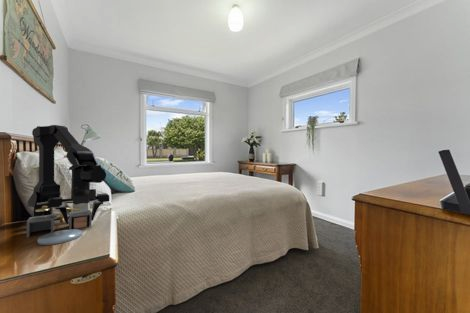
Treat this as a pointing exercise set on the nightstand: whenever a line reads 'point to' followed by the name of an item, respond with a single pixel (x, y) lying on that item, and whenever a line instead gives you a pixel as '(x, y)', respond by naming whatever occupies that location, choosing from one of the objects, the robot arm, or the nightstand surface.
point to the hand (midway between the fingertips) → (80, 222)
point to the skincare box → (81, 207)
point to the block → (80, 221)
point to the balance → (62, 220)
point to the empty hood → (40, 223)
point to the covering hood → (79, 213)
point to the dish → (59, 237)
